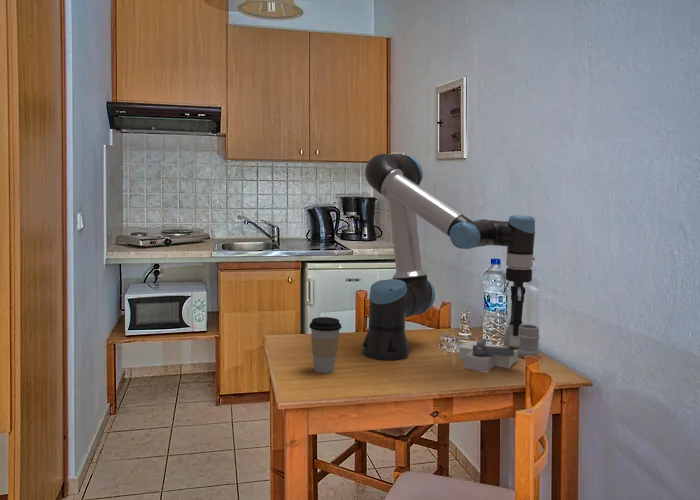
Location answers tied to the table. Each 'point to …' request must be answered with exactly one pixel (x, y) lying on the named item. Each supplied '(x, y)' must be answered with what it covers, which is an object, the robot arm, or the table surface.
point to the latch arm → (494, 350)
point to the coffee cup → (324, 343)
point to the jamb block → (479, 361)
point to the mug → (525, 340)
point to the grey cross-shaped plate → (498, 360)
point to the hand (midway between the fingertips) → (514, 345)
